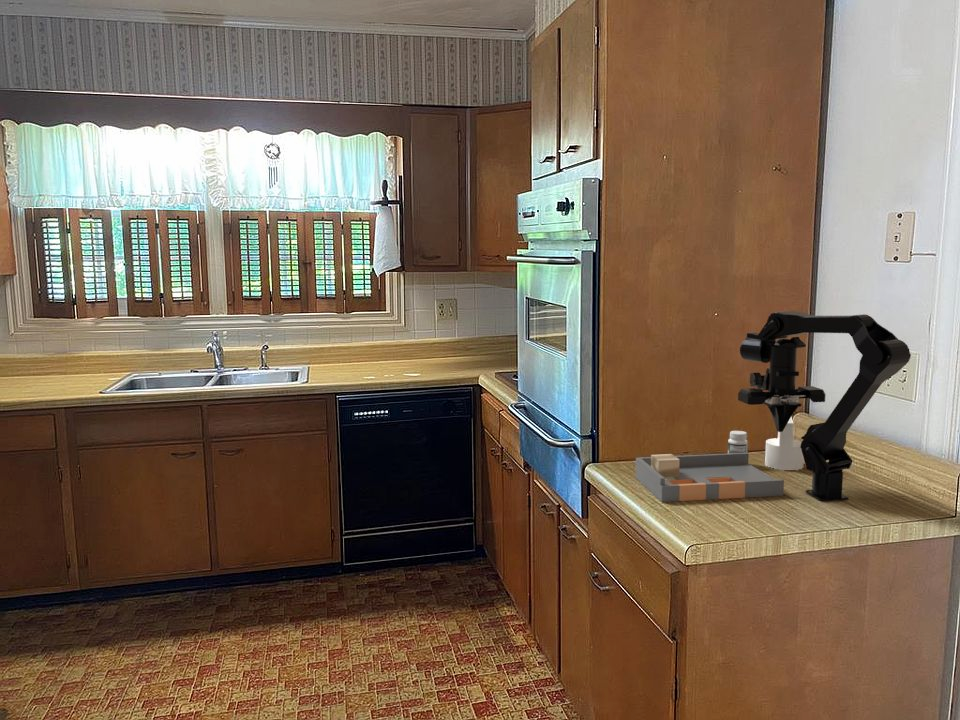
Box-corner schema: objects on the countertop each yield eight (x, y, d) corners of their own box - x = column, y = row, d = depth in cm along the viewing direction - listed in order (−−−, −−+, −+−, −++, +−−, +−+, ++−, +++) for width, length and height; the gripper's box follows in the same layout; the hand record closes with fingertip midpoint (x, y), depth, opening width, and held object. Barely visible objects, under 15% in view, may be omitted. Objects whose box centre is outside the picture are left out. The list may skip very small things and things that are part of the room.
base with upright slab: (804, 472, 184) (807, 424, 183) (765, 469, 187) (767, 422, 186) (801, 462, 193) (804, 416, 191) (764, 459, 196) (766, 414, 194)
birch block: (679, 476, 174) (679, 459, 173) (658, 477, 173) (658, 460, 173) (671, 470, 179) (671, 453, 178) (650, 471, 178) (651, 454, 178)
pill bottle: (731, 460, 195) (732, 429, 194) (749, 463, 192) (750, 431, 191) (724, 464, 192) (725, 432, 190) (742, 468, 189) (744, 435, 187)
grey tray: (783, 495, 167) (784, 473, 166) (661, 501, 164) (662, 479, 163) (745, 472, 185) (746, 452, 184) (635, 477, 182) (635, 457, 181)
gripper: (802, 359, 182) (799, 422, 185) (728, 361, 180) (726, 425, 183) (828, 366, 171) (824, 433, 174) (750, 368, 169) (747, 436, 172)
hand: (779, 431), depth 176 cm, fingers closed
